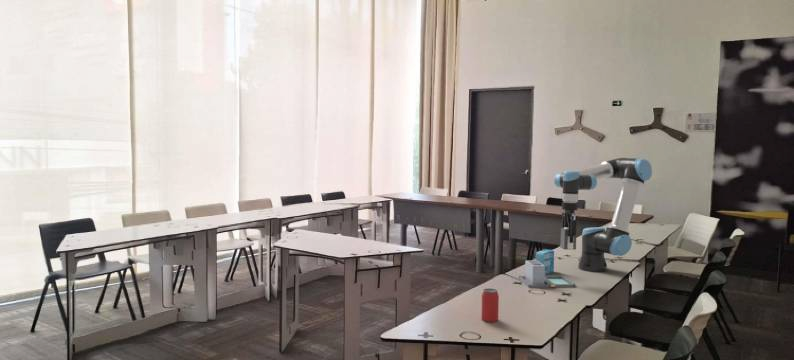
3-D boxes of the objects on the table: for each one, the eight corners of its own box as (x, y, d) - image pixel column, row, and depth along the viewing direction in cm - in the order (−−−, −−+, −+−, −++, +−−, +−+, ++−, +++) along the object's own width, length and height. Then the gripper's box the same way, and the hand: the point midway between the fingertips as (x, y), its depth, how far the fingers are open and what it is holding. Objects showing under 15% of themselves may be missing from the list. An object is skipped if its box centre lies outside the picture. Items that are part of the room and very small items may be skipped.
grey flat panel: (562, 278, 274) (562, 275, 274) (576, 288, 255) (576, 285, 255) (518, 278, 272) (518, 276, 272) (529, 289, 254) (530, 286, 254)
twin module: (536, 279, 270) (537, 259, 270) (544, 286, 258) (544, 265, 258) (525, 279, 270) (525, 259, 269) (532, 286, 258) (532, 265, 257)
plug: (571, 247, 268) (572, 227, 267) (575, 249, 263) (576, 228, 262) (560, 247, 267) (561, 227, 267) (564, 249, 262) (564, 228, 262)
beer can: (479, 317, 213) (480, 288, 212) (495, 316, 214) (496, 287, 213) (483, 322, 207) (484, 292, 206) (500, 322, 207) (500, 292, 206)
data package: (542, 275, 279) (543, 253, 278) (535, 274, 282) (535, 252, 281) (553, 271, 287) (554, 250, 287) (546, 270, 291) (546, 248, 290)
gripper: (556, 199, 272) (554, 244, 274) (569, 203, 254) (567, 251, 256) (570, 200, 273) (568, 244, 274) (584, 204, 255) (582, 251, 256)
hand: (567, 247), depth 265 cm, fingers closed on plug, 5 cm apart
